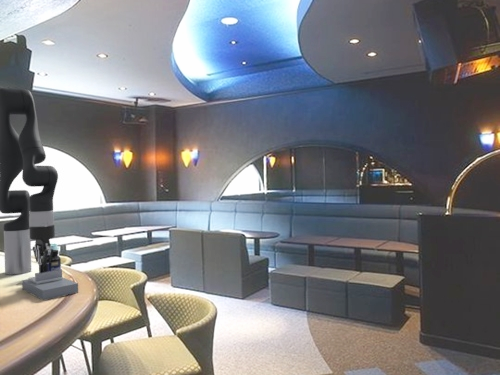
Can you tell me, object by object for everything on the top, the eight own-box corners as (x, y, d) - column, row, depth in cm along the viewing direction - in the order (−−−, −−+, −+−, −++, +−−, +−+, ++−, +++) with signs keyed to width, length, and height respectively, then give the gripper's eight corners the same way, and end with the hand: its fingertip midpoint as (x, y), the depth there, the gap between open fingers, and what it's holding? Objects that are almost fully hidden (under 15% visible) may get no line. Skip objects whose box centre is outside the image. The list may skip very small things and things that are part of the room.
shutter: (28, 280, 132) (28, 270, 132) (53, 275, 137) (53, 266, 137) (36, 284, 126) (36, 274, 126) (62, 279, 132) (62, 269, 132)
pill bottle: (53, 283, 140) (52, 252, 139) (38, 282, 141) (37, 252, 141) (64, 278, 146) (64, 249, 145) (50, 278, 147) (49, 249, 147)
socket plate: (22, 289, 132) (22, 280, 132) (55, 282, 140) (55, 274, 140) (43, 300, 119) (42, 290, 119) (78, 292, 126) (78, 283, 126)
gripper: (23, 224, 134) (25, 274, 135) (36, 226, 125) (38, 280, 125) (46, 222, 140) (48, 270, 140) (61, 224, 131) (62, 276, 131)
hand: (43, 275), depth 133 cm, fingers closed
